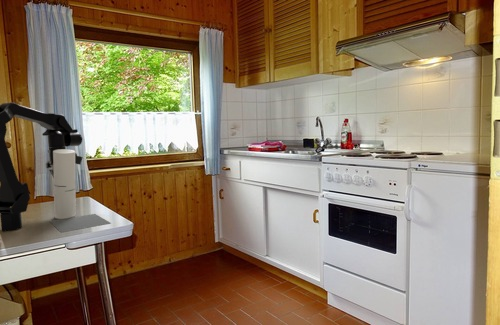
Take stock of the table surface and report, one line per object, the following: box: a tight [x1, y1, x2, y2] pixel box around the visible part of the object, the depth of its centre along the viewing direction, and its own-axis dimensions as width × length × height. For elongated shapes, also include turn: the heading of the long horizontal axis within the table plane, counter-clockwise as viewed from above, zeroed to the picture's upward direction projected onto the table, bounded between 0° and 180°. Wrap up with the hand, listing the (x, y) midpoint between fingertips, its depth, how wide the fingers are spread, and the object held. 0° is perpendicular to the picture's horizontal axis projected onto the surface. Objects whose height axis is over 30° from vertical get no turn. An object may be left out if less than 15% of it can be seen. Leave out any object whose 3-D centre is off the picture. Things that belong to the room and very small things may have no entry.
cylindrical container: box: [53, 148, 77, 220], centre depth 132 cm, size 7×7×25 cm
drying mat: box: [49, 213, 112, 233], centre depth 125 cm, size 20×16×1 cm
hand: (60, 187), depth 138 cm, fingers closed
